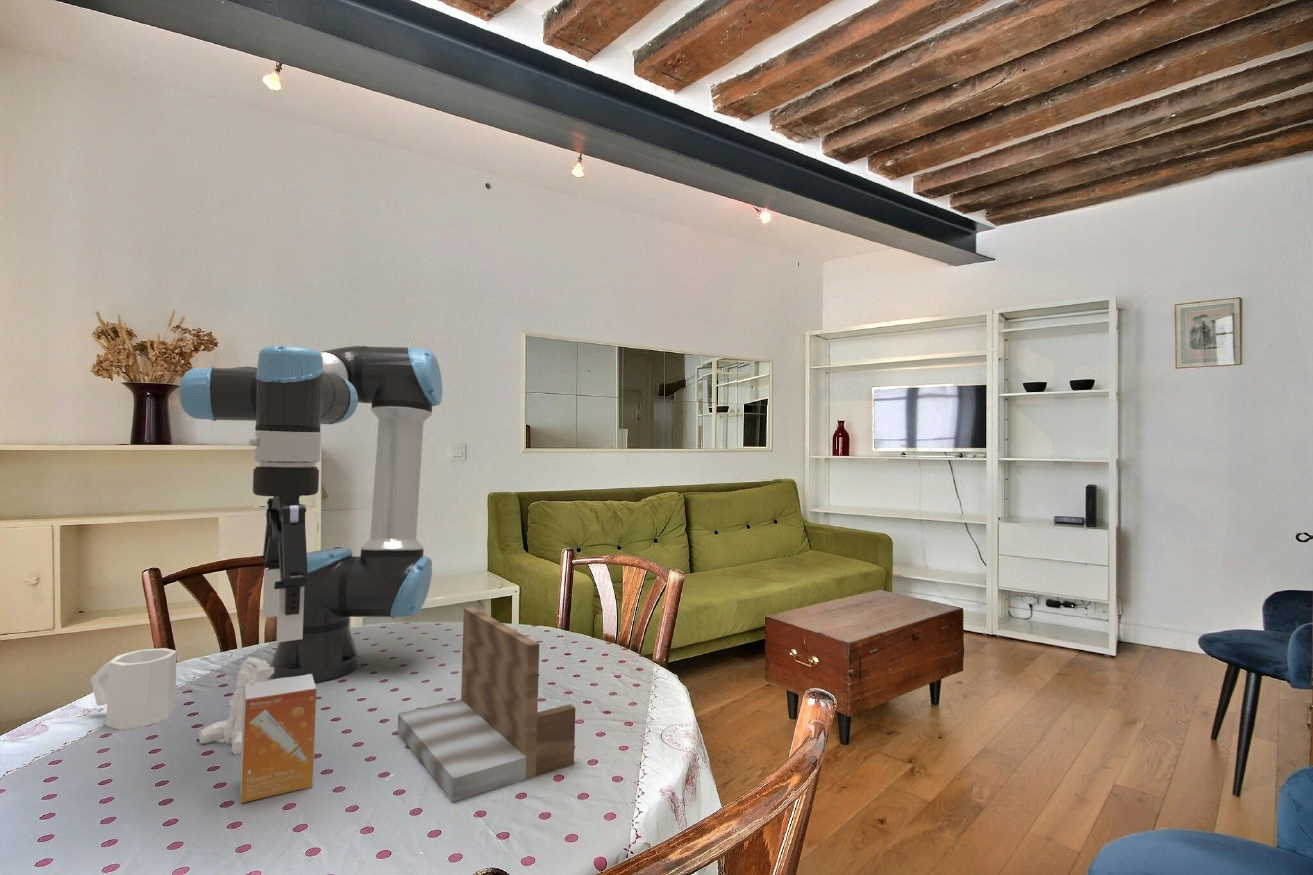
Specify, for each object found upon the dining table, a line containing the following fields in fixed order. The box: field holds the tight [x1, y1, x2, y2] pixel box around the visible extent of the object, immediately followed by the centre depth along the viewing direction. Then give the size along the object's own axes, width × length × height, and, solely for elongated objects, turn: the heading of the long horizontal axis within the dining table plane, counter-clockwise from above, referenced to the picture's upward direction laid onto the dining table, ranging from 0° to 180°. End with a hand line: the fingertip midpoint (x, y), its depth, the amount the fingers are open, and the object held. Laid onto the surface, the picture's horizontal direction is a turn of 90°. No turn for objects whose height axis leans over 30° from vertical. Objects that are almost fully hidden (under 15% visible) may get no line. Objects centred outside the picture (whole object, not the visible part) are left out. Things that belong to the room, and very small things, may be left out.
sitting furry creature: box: [198, 656, 274, 756], centre depth 98 cm, size 10×9×12 cm
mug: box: [90, 647, 178, 731], centre depth 104 cm, size 12×9×10 cm
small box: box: [239, 674, 317, 804], centre depth 85 cm, size 8×6×13 cm
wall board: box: [397, 606, 576, 803], centre depth 97 cm, size 24×18×18 cm
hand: (281, 627), depth 85 cm, fingers open, 13 cm apart
